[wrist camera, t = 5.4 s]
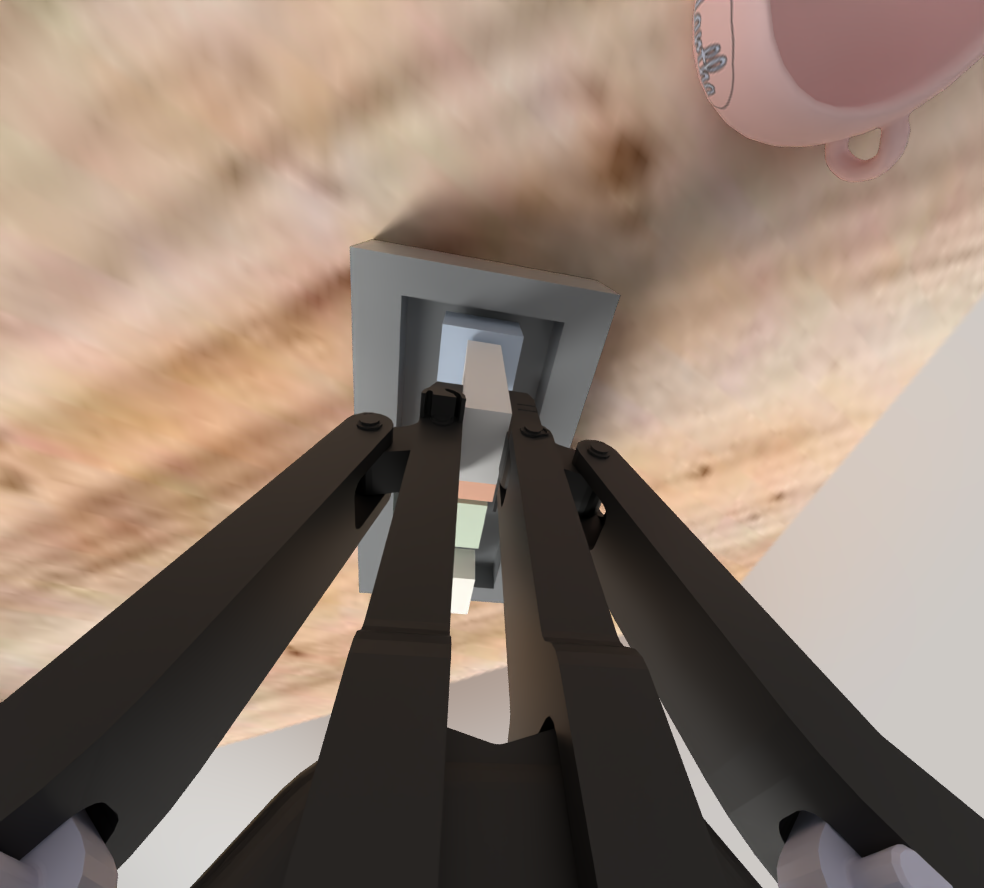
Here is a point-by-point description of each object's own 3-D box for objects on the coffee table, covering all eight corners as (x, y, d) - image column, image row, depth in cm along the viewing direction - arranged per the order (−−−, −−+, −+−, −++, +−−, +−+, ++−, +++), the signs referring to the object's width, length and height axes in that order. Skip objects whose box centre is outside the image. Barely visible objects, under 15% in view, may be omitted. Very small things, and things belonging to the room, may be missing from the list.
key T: (429, 467, 22) (424, 494, 20) (434, 413, 20) (429, 436, 18) (490, 475, 22) (492, 502, 20) (501, 421, 20) (504, 446, 18)
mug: (628, -72, 14) (711, -224, 9) (933, -319, 12) (1276, -712, 7) (702, 242, 20) (779, 254, 15) (917, 119, 17) (1095, 85, 12)
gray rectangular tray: (371, 550, 31) (359, 592, 28) (372, 239, 19) (349, 246, 16) (513, 562, 33) (518, 604, 29) (596, 280, 21) (620, 295, 17)
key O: (418, 579, 27) (413, 610, 25) (421, 545, 25) (416, 574, 23) (468, 583, 27) (467, 614, 25) (475, 549, 26) (475, 579, 24)
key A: (439, 379, 20) (435, 398, 18) (446, 310, 18) (442, 324, 16) (505, 388, 21) (508, 408, 19) (518, 322, 19) (523, 336, 17)
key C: (425, 516, 25) (420, 543, 23) (429, 474, 24) (425, 499, 22) (478, 521, 26) (478, 548, 24) (486, 480, 24) (487, 505, 22)
